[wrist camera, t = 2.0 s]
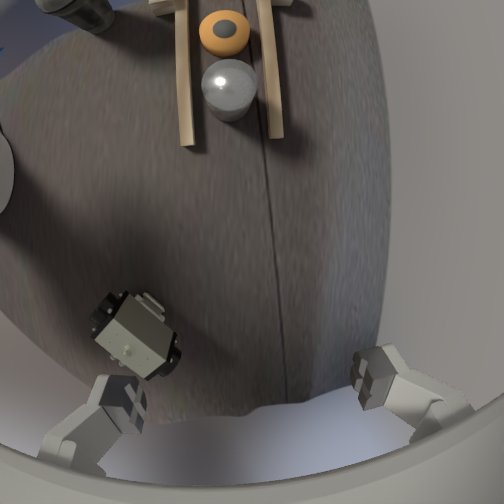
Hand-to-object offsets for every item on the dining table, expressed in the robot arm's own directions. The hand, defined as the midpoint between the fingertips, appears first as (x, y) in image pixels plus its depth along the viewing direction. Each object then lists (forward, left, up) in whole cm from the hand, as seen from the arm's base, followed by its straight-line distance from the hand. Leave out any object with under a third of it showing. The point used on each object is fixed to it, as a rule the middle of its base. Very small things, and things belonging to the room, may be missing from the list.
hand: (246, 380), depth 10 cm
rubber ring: (-6, +23, -29) cm, 37 cm away
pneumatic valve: (-10, -15, -29) cm, 34 cm away
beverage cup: (-24, +26, -29) cm, 45 cm away
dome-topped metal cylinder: (-3, +14, -28) cm, 32 cm away
